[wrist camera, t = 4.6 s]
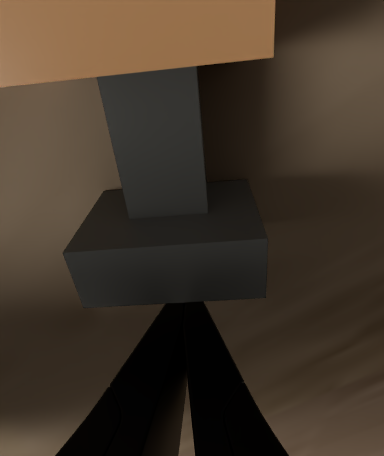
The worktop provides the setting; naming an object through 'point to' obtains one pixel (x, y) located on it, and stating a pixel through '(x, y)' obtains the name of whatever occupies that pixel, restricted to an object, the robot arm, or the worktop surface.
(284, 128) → the worktop surface
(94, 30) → the plug
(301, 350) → the worktop surface
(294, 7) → the worktop surface
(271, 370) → the worktop surface
